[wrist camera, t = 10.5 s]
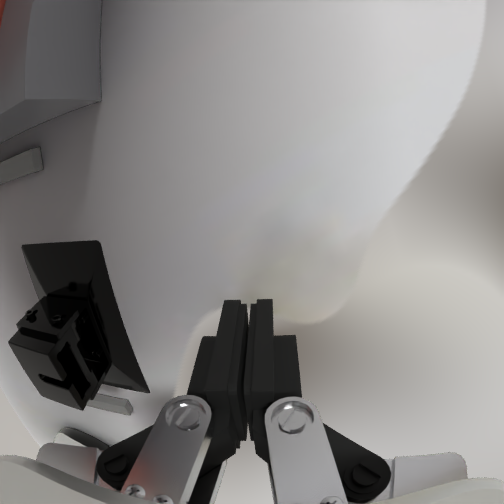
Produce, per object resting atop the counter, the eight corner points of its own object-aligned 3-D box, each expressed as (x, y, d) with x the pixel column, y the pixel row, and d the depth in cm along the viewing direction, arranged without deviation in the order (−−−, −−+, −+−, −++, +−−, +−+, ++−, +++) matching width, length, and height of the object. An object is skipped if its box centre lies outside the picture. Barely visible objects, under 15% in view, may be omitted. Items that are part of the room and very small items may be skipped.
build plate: (169, 400, 16) (151, 462, 11) (77, 381, 16) (51, 429, 12) (114, 199, 10) (39, 249, 6) (9, 213, 11) (-52, 250, 7)
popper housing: (-8, 20, 5) (-58, 16, 2) (109, -53, 5) (62, -89, 1) (-14, 150, 9) (-71, 170, 5) (101, 100, 8) (25, 99, 4)
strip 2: (51, 381, 15) (48, 387, 15) (127, 399, 15) (124, 406, 14) (57, 390, 16) (54, 395, 15) (132, 408, 15) (130, 415, 15)
